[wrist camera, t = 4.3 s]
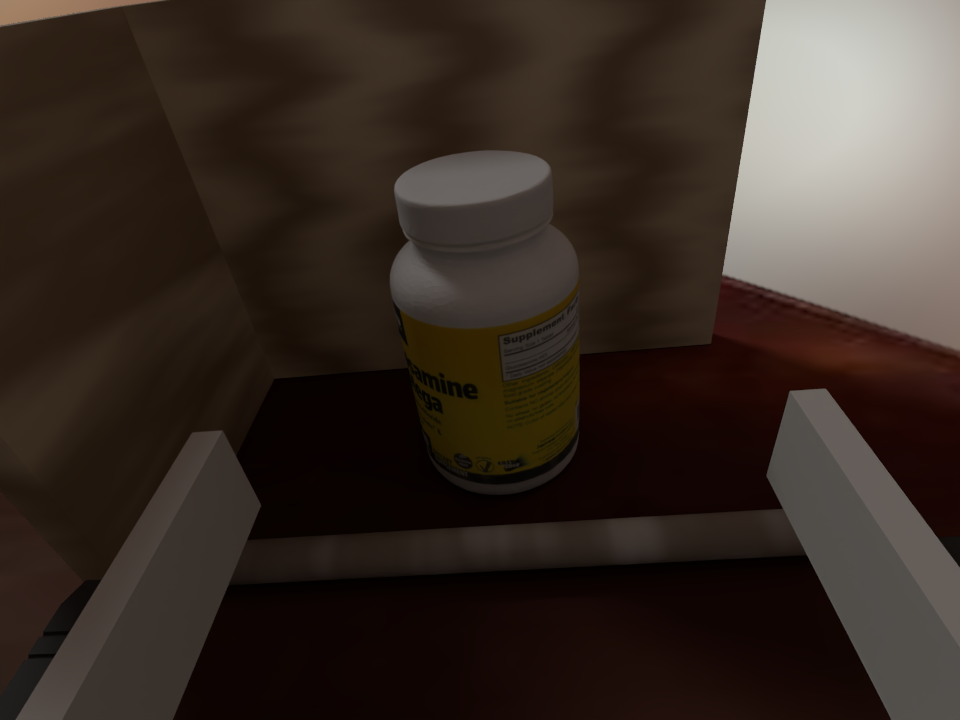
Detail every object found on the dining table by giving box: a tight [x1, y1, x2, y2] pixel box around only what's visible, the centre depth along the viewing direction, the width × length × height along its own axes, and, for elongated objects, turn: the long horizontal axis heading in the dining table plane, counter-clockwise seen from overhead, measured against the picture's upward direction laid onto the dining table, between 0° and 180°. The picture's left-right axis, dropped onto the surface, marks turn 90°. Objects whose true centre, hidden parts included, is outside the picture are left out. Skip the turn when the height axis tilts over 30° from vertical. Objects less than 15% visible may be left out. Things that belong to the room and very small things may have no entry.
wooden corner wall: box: [0, 0, 807, 585], centre depth 18 cm, size 23×14×16 cm, turn 89°
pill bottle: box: [390, 150, 580, 495], centre depth 20 cm, size 6×6×11 cm
